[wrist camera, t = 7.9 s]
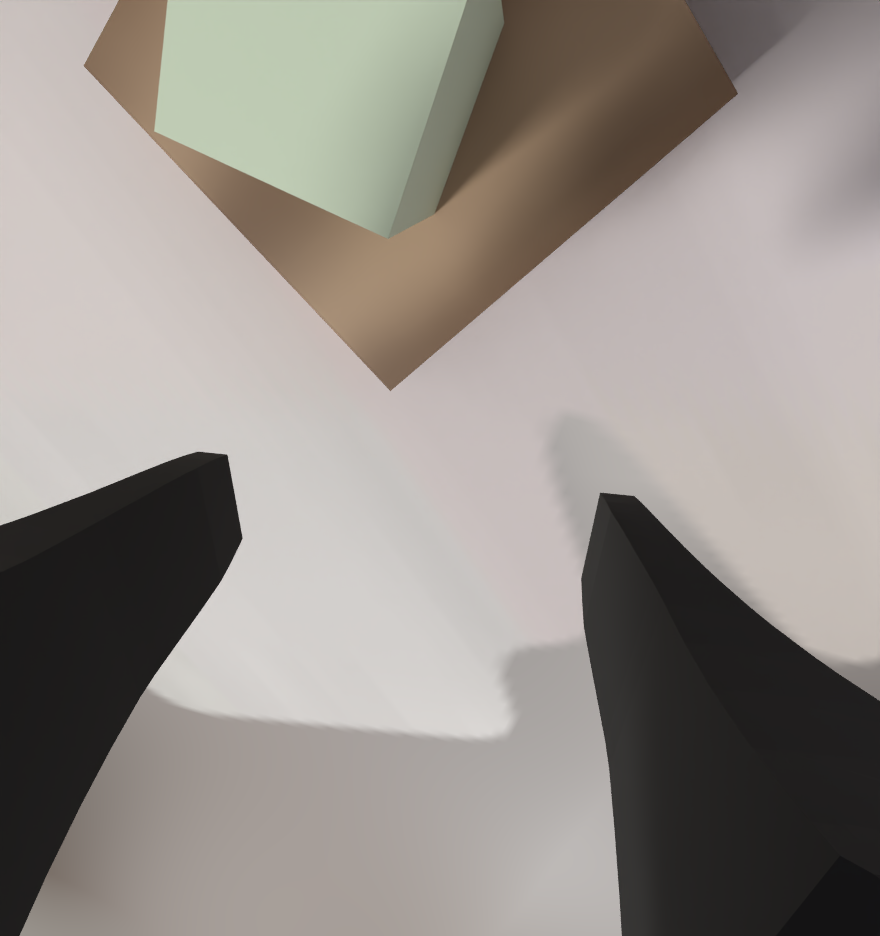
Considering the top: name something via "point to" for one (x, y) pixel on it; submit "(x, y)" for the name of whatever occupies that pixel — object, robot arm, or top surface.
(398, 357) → the walnut block
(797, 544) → the top surface
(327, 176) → the sage block
